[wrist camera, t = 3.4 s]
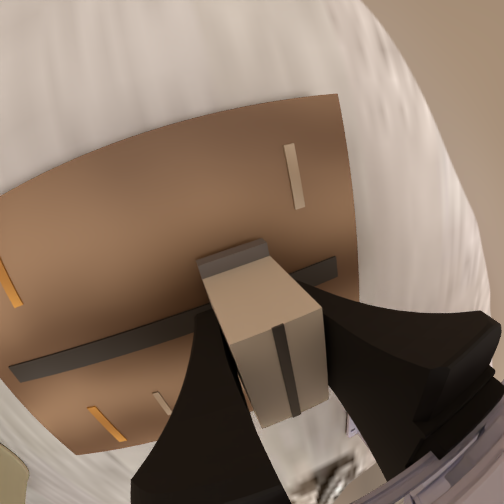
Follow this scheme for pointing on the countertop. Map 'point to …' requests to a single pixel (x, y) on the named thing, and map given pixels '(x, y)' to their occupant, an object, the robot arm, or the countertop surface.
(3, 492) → the can
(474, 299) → the countertop surface
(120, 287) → the board
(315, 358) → the fader
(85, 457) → the countertop surface
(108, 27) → the countertop surface
